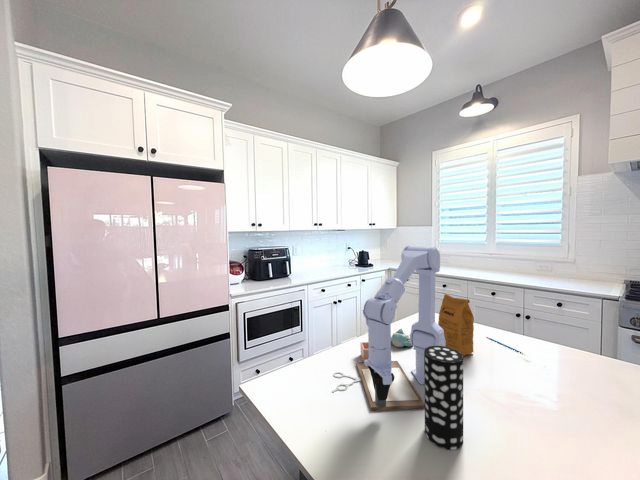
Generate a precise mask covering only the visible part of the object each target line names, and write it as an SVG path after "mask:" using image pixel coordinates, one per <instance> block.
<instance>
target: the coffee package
mask: <svg viewBox="0 0 640 480" xmlns="http://www.w3.org/2000/svg"><path fill="white" fill-rule="evenodd" d="M469 303H470V300H469V299H468V298H458V297H453V296H451V295H450V294H448V293H444V295H443V299H442V302H441V305H440V309H439V311H438V312H439V314H438V321H437V322H438V323H437V324H438V325H439V326H440V327H441V328H442V329H443V330H444V337H445V341H446V344H445V347H449V348H452V349H455V350H457V351H459V352H460V353H461V354H462V355H463V357H465V356H467V355H470V354H472V353H474V330H475V329H474V322H475V317H474V315H473V312H472V310H471V307H470V305H469Z"/></svg>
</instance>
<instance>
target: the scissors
mask: <svg viewBox="0 0 640 480" xmlns="http://www.w3.org/2000/svg"><path fill="white" fill-rule="evenodd" d="M337 374H339V375H337ZM332 375H333V377H334V378H335V379H342V378H349V379H352V380H353V381H352V382H350V383H339V384H338V385H337V386H336V389H334V390H332V391H331V392H332V393H336V392H338V391H340V392H344V391H347V390H348V389H349V387H350V386H353V385H354V384H355V383H359V382H360V383H361V382H362V380H361V377H356V376H350V375H345V374H344V373H342V372H339V371H336V372H333V374H332ZM341 386H343V387H344V388H339V387H341Z"/></svg>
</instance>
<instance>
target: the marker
mask: <svg viewBox="0 0 640 480" xmlns="http://www.w3.org/2000/svg"><path fill="white" fill-rule="evenodd" d="M374 372H376V371H375V370H374ZM375 405H376V406H377V407H379V408H384V407H385V406H386V400H378V397H377V393H376V386H375Z"/></svg>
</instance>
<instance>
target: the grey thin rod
mask: <svg viewBox="0 0 640 480" xmlns="http://www.w3.org/2000/svg"><path fill="white" fill-rule="evenodd" d="M486 339H487V340H491V341H492V342H494V343H496V342H497V344H499V345H501V346H503V347H505V348H507V347H508V349H510V350H512V349H513V350H512V351H514V350H515V351H514V352H516V351H518V352H520V353H519V354H521V353H522V354H521V355H523V354H524V353H523V352H522V351H520V350H517V349H515V348H513V347H510V346H508V345H506V344H504V343H502V342H500V341H498V340H496V339H493V338H491V337H489V336H486ZM518 352H517V353H518Z"/></svg>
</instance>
